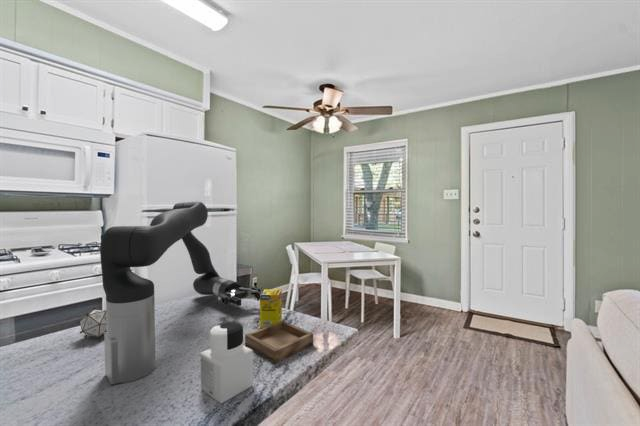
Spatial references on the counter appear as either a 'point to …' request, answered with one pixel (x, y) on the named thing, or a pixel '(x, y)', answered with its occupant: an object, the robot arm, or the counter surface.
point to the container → (226, 363)
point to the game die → (94, 323)
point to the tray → (278, 341)
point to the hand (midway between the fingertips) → (251, 299)
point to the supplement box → (270, 307)
